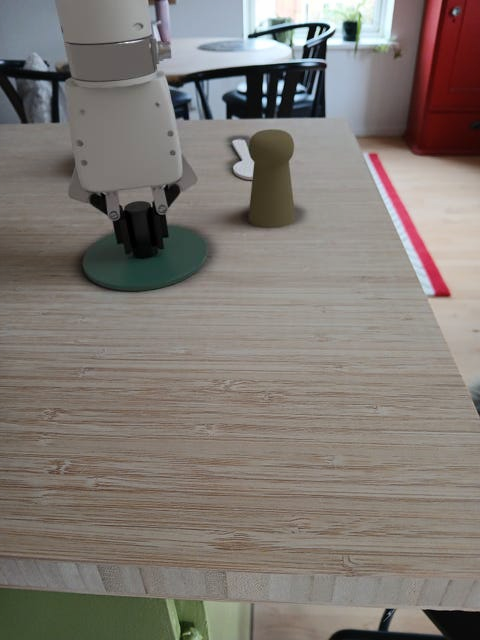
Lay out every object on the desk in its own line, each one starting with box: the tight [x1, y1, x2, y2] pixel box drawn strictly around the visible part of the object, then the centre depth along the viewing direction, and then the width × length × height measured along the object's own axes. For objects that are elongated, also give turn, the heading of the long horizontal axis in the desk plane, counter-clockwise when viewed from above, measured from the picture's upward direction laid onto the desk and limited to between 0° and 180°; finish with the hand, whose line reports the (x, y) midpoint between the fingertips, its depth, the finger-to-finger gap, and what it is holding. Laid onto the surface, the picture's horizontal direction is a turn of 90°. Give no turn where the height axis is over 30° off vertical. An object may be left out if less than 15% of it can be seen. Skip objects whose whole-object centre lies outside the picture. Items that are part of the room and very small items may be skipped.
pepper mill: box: [248, 128, 296, 229], centre depth 61 cm, size 6×6×11 cm
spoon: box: [231, 139, 254, 181], centre depth 82 cm, size 5×18×1 cm, turn 8°
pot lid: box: [82, 200, 208, 292], centre depth 55 cm, size 14×14×7 cm
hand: (143, 244), depth 56 cm, fingers closed on pot lid, 2 cm apart
